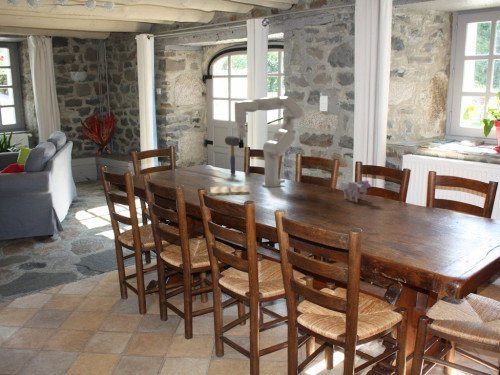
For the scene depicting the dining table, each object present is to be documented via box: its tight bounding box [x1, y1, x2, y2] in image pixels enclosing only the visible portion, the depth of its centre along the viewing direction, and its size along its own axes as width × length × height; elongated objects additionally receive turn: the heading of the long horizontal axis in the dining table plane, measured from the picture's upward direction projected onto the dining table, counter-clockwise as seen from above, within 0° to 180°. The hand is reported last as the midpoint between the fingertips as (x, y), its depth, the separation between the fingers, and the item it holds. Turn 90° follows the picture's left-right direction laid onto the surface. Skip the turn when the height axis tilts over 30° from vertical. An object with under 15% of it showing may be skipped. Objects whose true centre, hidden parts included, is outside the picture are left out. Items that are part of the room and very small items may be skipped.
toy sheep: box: [342, 179, 372, 203], centre depth 303 cm, size 20×11×14 cm, turn 33°
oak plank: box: [209, 186, 230, 196], centre depth 333 cm, size 13×18×2 cm
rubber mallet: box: [224, 135, 239, 175], centre depth 392 cm, size 12×8×30 cm, turn 35°
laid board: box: [228, 185, 250, 195], centre depth 335 cm, size 12×18×2 cm
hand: (241, 147), depth 331 cm, fingers closed
